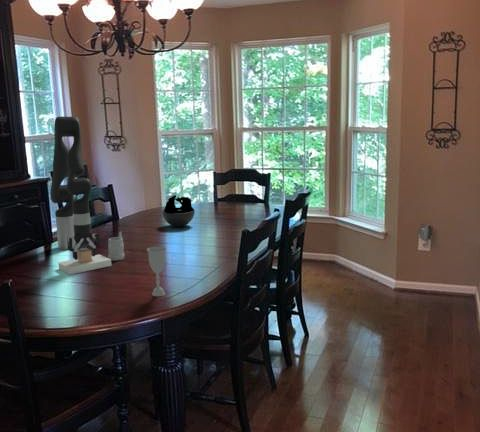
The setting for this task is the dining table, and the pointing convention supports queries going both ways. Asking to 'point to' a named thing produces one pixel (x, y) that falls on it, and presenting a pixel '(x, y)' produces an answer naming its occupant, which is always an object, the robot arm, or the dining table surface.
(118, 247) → the mug
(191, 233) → the dining table surface
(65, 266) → the socket plate
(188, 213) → the coal bowl
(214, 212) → the dining table surface
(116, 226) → the dining table surface
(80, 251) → the plug
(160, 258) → the chalice
